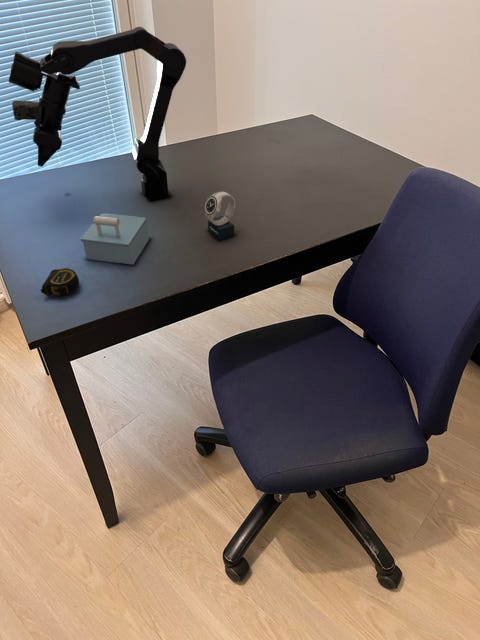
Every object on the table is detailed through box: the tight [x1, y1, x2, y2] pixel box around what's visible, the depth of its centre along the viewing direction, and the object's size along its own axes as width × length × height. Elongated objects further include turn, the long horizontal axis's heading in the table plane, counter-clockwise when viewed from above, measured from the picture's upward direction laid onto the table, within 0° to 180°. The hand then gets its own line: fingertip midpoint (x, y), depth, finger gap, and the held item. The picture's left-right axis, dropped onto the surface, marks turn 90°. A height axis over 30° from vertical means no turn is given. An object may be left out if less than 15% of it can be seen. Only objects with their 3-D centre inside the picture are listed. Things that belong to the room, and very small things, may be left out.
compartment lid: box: [80, 212, 148, 247], centre depth 111 cm, size 12×12×5 cm
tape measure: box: [40, 267, 80, 297], centre depth 103 cm, size 7×7×4 cm
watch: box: [203, 191, 237, 241], centre depth 119 cm, size 6×8×11 cm
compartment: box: [82, 220, 150, 266], centre depth 115 cm, size 12×12×5 cm
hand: (39, 158), depth 123 cm, fingers open, 9 cm apart
